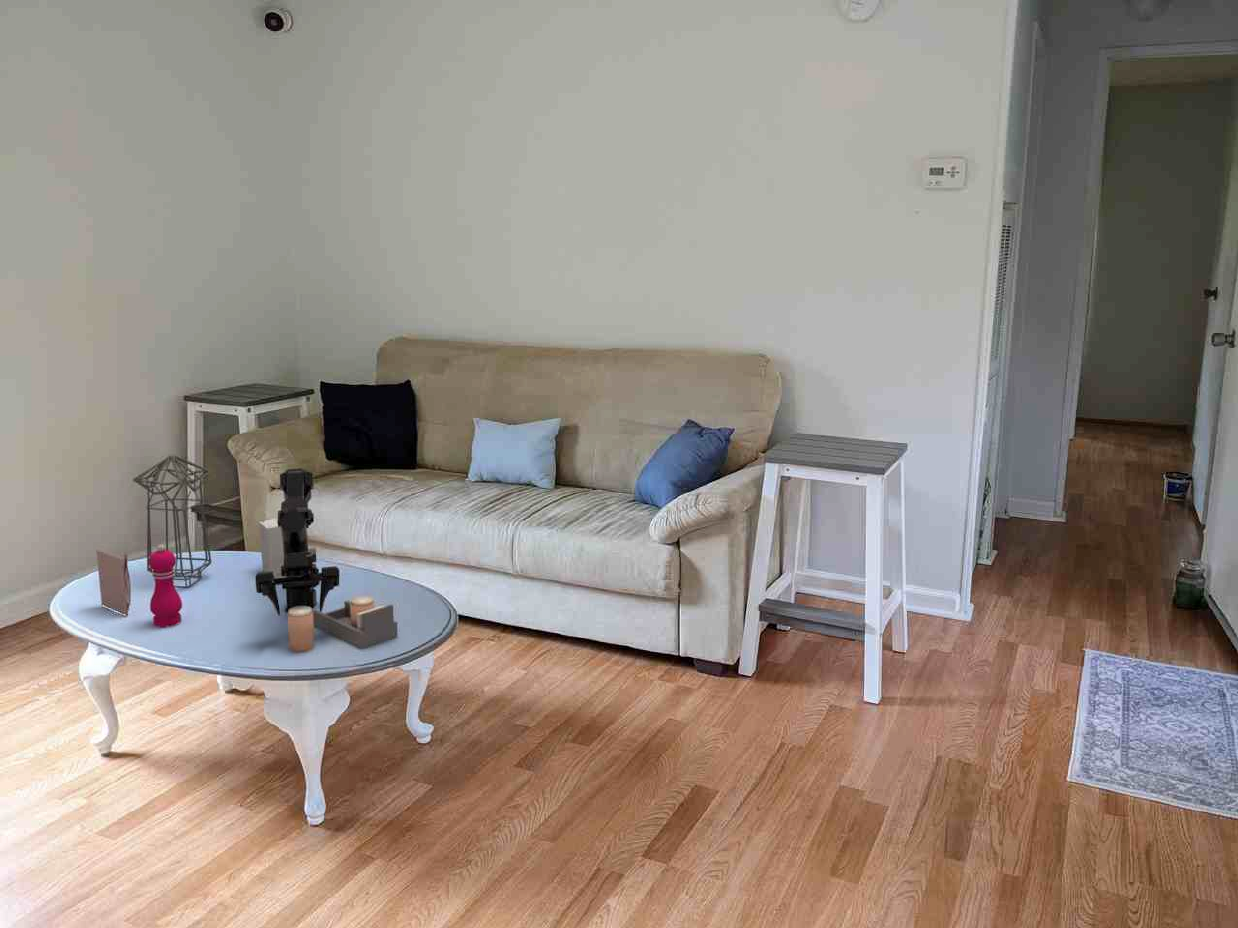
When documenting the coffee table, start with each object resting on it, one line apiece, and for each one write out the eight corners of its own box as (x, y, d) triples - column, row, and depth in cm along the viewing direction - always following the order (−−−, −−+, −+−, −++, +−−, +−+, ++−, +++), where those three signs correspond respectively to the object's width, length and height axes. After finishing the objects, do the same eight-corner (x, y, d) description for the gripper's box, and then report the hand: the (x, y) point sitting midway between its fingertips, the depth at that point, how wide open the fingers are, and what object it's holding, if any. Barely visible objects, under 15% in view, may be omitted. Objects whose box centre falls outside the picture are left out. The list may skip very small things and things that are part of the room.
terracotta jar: (286, 654, 243) (283, 613, 241) (294, 645, 248) (291, 604, 246) (310, 655, 243) (308, 614, 240) (317, 645, 248) (315, 605, 246)
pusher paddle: (358, 641, 248) (357, 613, 247) (384, 632, 254) (383, 605, 252) (363, 644, 247) (362, 616, 245) (389, 635, 252) (389, 607, 251)
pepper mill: (190, 619, 262) (183, 542, 257) (168, 630, 255) (162, 551, 250) (166, 615, 264) (159, 538, 259) (144, 625, 257) (137, 547, 253)
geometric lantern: (138, 590, 281) (126, 460, 273) (170, 571, 296) (160, 448, 288) (194, 593, 278) (184, 463, 271) (223, 574, 294) (215, 450, 286)
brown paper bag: (131, 616, 263) (126, 559, 259) (98, 619, 260) (92, 561, 257) (134, 600, 273) (129, 545, 270) (102, 603, 271) (97, 547, 267)
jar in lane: (348, 638, 250) (347, 603, 248) (354, 629, 256) (353, 594, 254) (372, 639, 250) (370, 603, 248) (377, 630, 256) (376, 595, 254)
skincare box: (291, 576, 293) (288, 524, 290) (269, 579, 290) (266, 527, 287) (282, 567, 300) (279, 516, 297) (260, 570, 297) (257, 519, 293)
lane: (313, 628, 258) (311, 593, 256) (348, 617, 265) (347, 583, 263) (362, 651, 245) (360, 615, 243) (397, 639, 253) (396, 604, 251)
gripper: (253, 539, 243) (255, 601, 235) (337, 533, 249) (342, 594, 241) (255, 561, 252) (257, 622, 244) (336, 555, 258) (341, 614, 250)
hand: (300, 612), depth 245 cm, fingers open, 9 cm apart
